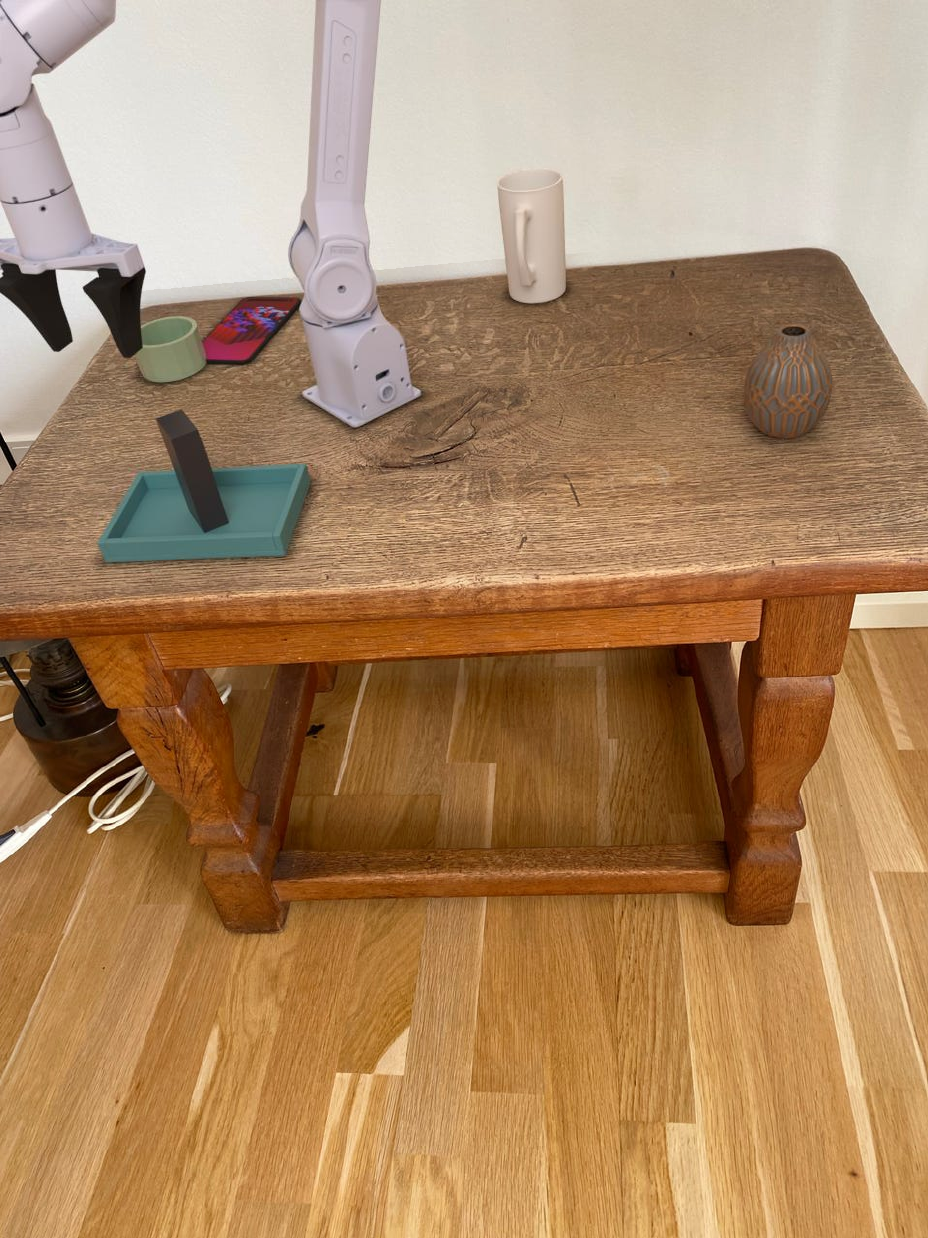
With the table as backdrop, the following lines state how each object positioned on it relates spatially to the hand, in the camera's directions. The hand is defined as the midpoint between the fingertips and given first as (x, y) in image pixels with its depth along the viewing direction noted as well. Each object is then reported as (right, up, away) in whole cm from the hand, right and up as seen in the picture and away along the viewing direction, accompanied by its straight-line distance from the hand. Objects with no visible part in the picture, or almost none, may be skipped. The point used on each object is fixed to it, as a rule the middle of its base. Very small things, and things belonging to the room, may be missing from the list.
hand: (97, 349), depth 88 cm
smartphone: (+8, +8, +24) cm, 27 cm away
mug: (+40, +11, +22) cm, 47 cm away
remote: (+11, -15, -4) cm, 19 cm away
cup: (+1, +3, +19) cm, 20 cm away
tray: (+11, -15, -3) cm, 19 cm away
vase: (+59, -7, -3) cm, 60 cm away
